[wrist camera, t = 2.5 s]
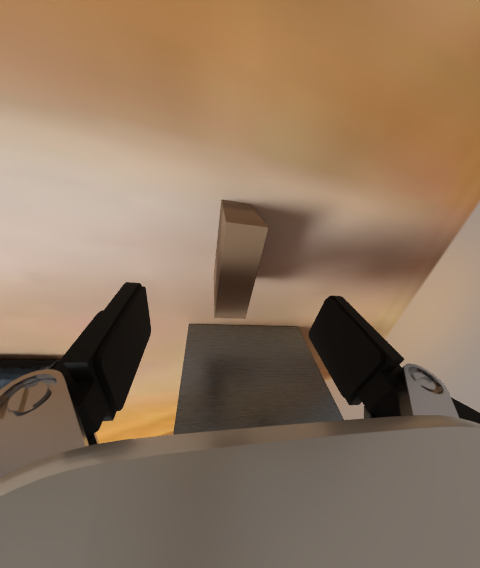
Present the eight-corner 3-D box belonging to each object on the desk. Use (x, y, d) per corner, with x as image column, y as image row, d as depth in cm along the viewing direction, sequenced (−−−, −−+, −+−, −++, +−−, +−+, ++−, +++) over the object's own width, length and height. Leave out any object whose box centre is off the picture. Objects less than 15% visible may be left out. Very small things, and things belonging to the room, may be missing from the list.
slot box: (188, 324, 18) (170, 457, 10) (297, 326, 21) (352, 437, 13) (188, 384, 25) (176, 494, 17) (270, 381, 27) (294, 476, 19)
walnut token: (221, 199, 12) (225, 222, 8) (250, 204, 13) (268, 227, 8) (213, 275, 15) (214, 317, 11) (236, 276, 16) (245, 318, 12)
